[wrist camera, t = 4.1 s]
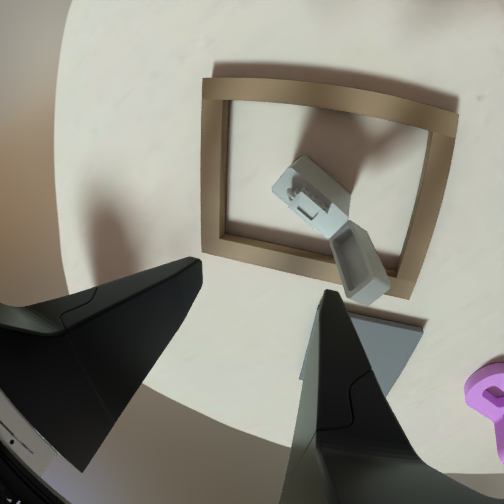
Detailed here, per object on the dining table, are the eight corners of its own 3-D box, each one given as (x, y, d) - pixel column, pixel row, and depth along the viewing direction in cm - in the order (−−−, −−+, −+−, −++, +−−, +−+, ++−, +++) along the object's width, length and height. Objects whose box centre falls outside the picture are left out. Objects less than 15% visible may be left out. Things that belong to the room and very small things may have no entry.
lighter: (287, 173, 20) (245, 213, 13) (303, 153, 19) (268, 183, 12) (366, 242, 20) (364, 315, 13) (383, 225, 19) (393, 293, 12)
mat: (422, 327, 21) (423, 332, 21) (385, 393, 25) (385, 397, 25) (318, 305, 23) (316, 309, 23) (300, 374, 28) (298, 379, 27)
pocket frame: (454, 113, 14) (458, 114, 13) (407, 291, 20) (409, 299, 19) (209, 78, 18) (202, 77, 17) (207, 246, 24) (201, 252, 24)
